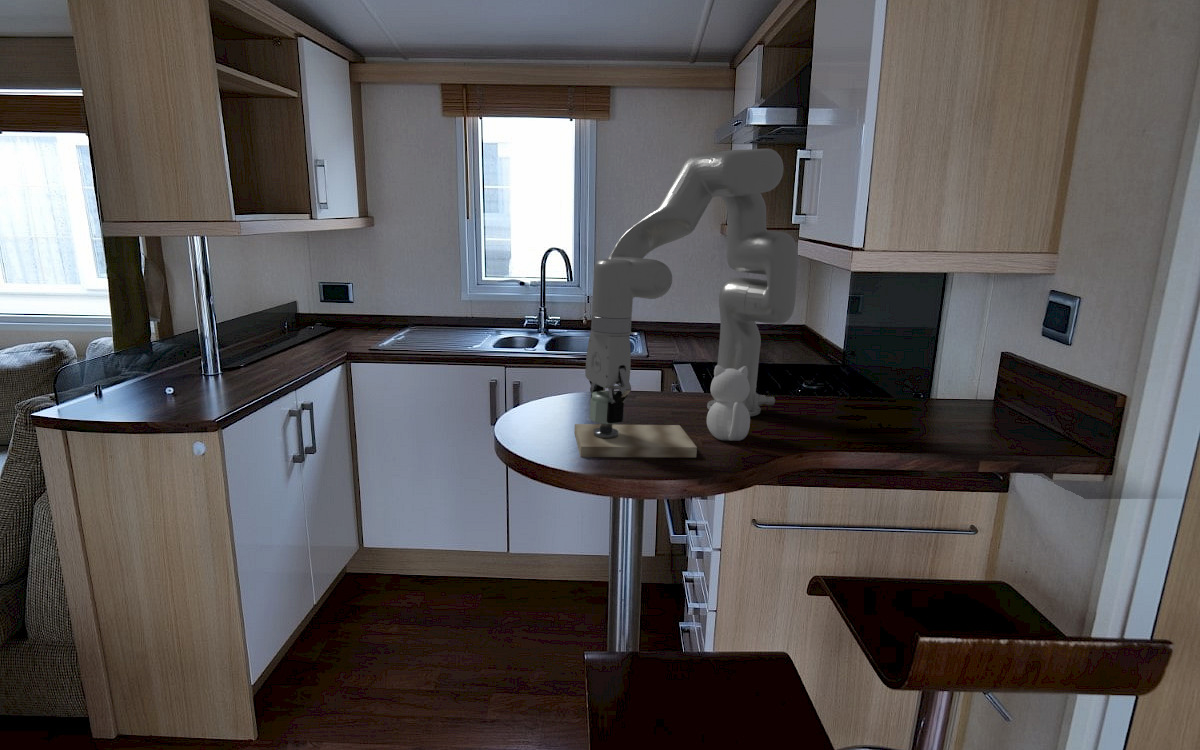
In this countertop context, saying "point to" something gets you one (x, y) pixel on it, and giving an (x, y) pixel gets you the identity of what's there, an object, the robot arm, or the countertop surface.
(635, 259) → the robot arm
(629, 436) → the board
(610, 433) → the pin
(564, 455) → the countertop surface
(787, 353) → the countertop surface
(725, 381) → the cat figurine
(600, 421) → the cap
